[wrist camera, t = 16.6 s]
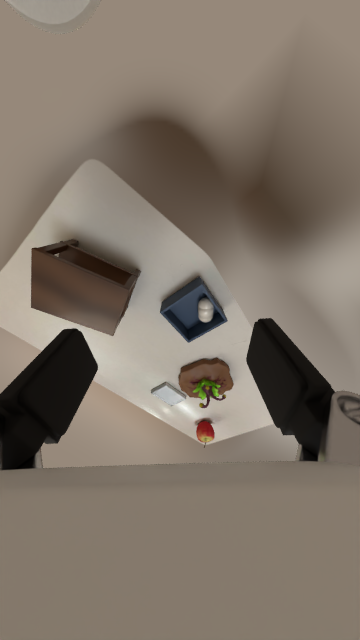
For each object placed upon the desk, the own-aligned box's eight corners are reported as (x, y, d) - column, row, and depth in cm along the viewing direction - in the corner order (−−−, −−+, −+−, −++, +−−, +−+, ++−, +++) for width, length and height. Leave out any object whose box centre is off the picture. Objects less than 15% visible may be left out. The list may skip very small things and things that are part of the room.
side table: (72, 238, 36) (31, 248, 26) (141, 270, 40) (129, 290, 30) (66, 284, 42) (30, 307, 32) (127, 309, 46) (113, 336, 36)
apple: (192, 423, 82) (193, 447, 74) (204, 416, 79) (207, 440, 70) (204, 428, 85) (206, 451, 77) (215, 421, 81) (220, 445, 73)
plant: (171, 366, 59) (169, 395, 50) (225, 353, 56) (234, 382, 46) (187, 396, 69) (189, 425, 60) (234, 387, 66) (243, 416, 57)
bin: (161, 302, 45) (159, 312, 40) (199, 275, 41) (202, 284, 36) (187, 330, 50) (188, 342, 46) (222, 310, 46) (227, 321, 42)
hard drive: (150, 393, 65) (171, 406, 71) (165, 385, 62) (186, 399, 68) (151, 389, 67) (171, 402, 72) (166, 381, 64) (186, 395, 69)
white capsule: (199, 302, 40) (216, 301, 40) (197, 295, 43) (212, 294, 43) (199, 325, 44) (214, 324, 44) (197, 317, 47) (211, 316, 47)
